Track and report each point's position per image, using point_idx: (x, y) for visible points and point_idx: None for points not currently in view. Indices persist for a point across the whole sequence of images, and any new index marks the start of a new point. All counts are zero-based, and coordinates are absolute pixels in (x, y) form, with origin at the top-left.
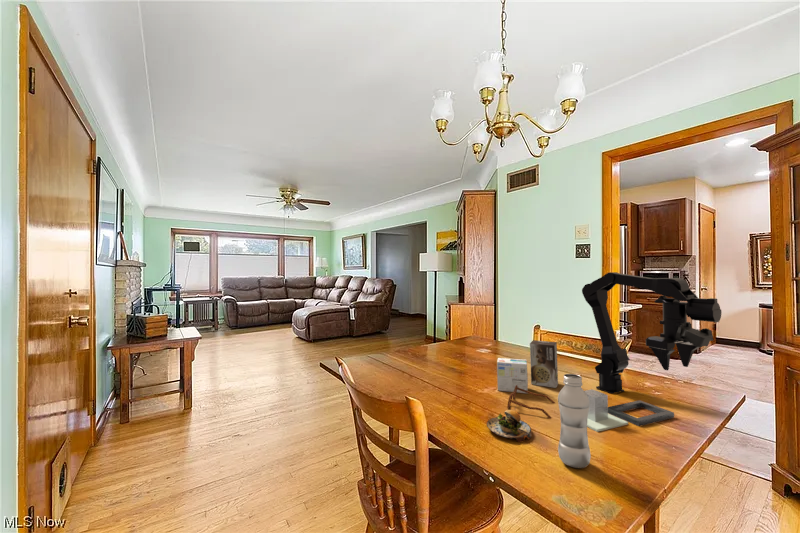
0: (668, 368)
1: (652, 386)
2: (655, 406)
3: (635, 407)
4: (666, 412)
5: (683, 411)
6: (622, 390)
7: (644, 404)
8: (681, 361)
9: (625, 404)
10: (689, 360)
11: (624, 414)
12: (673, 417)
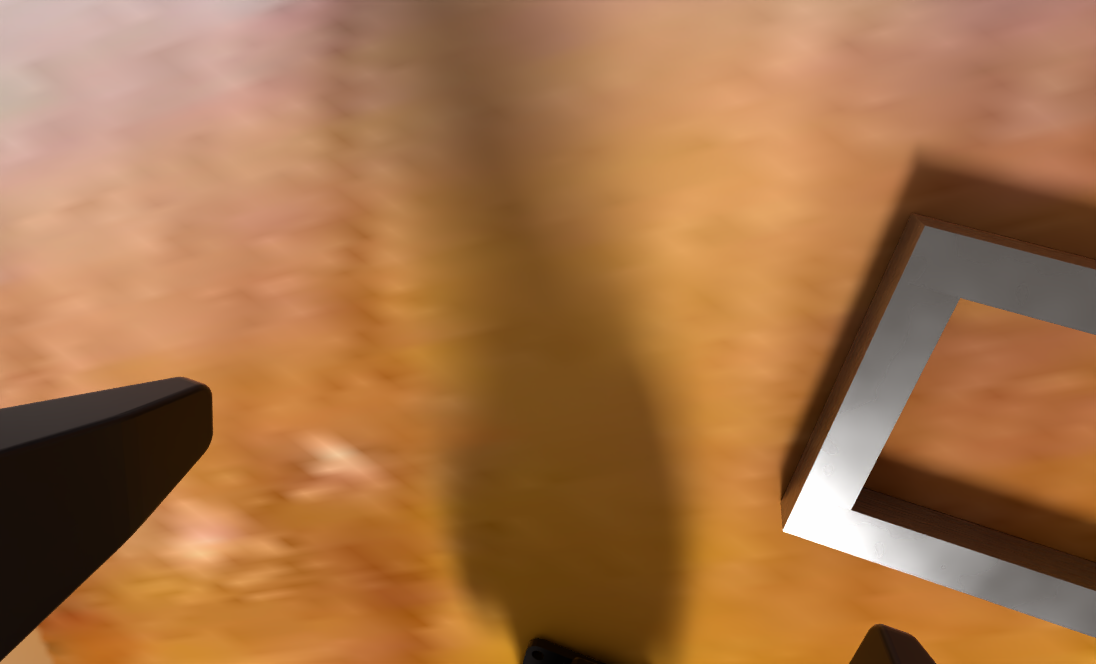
0: (910, 658)
1: (226, 511)
2: (865, 397)
3: (931, 516)
4: (993, 279)
5: (630, 204)
6: (556, 654)
7: (864, 479)
8: (136, 529)
9: (1045, 600)
10: (25, 421)
11: None
12: (922, 217)
